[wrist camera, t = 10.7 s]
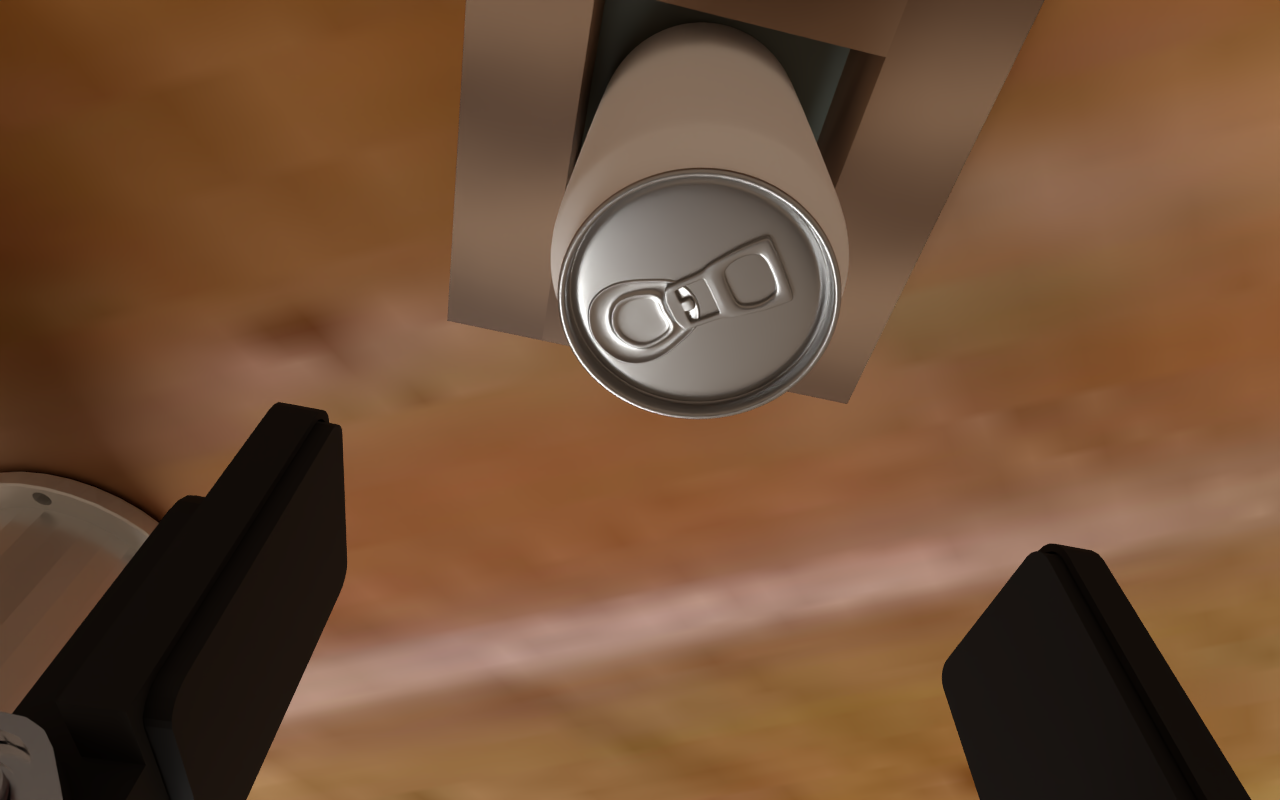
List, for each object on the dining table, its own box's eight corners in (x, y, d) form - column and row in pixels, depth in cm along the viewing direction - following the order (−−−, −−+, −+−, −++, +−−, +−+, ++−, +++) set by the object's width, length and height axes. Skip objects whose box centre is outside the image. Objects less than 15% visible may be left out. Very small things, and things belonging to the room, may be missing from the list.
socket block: (828, 335, 29) (847, 404, 26) (478, 259, 28) (447, 320, 25) (1006, -72, 21) (1070, -54, 17) (517, -203, 20) (478, -212, 16)
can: (564, 76, 24) (472, 231, 14) (756, -23, 22) (803, 78, 12) (650, 248, 27) (623, 468, 17) (823, 175, 25) (902, 379, 15)
